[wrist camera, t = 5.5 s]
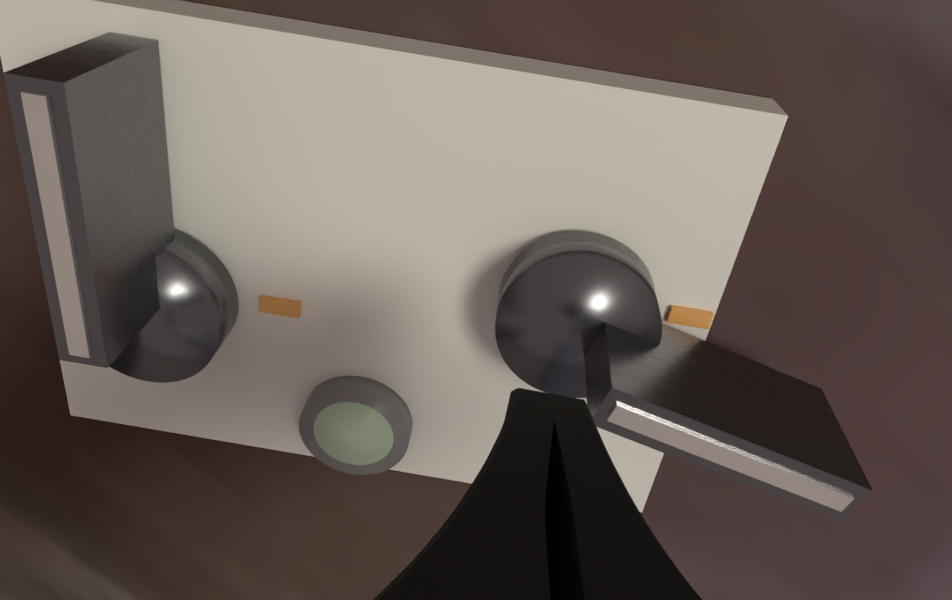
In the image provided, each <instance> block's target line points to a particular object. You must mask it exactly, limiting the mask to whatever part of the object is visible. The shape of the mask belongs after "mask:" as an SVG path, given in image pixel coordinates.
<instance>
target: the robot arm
mask: <svg viewBox="0 0 952 600" xmlns="http://www.w3.org/2000/svg"><path fill="white" fill-rule="evenodd" d="M373 600H702V599H701V598H700V597H699V595H698V594H697V593H696V592H695V591H694V590H693V588H692V587H691V586H690V584H689V583H688V582H687V581H686V579H685V578H684V577H683V575H682V574H681V573H680V572H679V570H678V569H677V567H676V566H675V565H674V563H673V562H672V560H671V559H670V558H669V556H668V555H667V553H666V552H665V551H664V549H663V548H662V546H661V545H660V543H659V542H658V540H657V539H656V537H655V536H654V534H653V533H652V531H651V530H650V528H649V526H648V525H647V523H646V521H645V520H644V518H643V516H642V515H641V513H640V512H639V510H638V508H637V507H636V505H635V503H634V501H633V500H632V498H631V496H630V494H629V492H628V491H627V489H626V487H625V485H624V483H623V481H622V479H621V477H620V475H619V473H618V472H617V470H616V468H615V466H614V464H613V462H612V460H611V458H610V456H609V454H608V451H607V449H606V447H605V445H604V443H603V441H602V438H601V436H600V434H599V432H598V429H597V427H596V425H595V422H594V420H593V417H592V415H591V412H590V410H589V407H588V405H587V404H586V402H585V401H584V400H583V399H578V398H572V397H567V396H561V395H556V394H550V393H545V392H539V391H534V390H528V389H523V388H517V389H515V390H513V391H511V393H510V398H509V402H508V406H507V411H506V415H505V419H504V423H503V426H502V428H501V431H500V433H499V435H498V437H497V439H496V441H495V443H494V445H493V447H492V449H491V451H490V453H489V455H488V457H487V459H486V461H485V463H484V465H483V466H482V468H481V470H480V471H479V473H478V475H477V476H476V478H475V479H474V481H473V483H472V484H471V486H470V488H469V489H468V491H467V492H466V494H465V495H464V497H463V498H462V500H461V501H460V503H459V504H458V506H457V507H456V508H455V510H454V511H453V512H452V514H451V515H450V516H449V518H448V519H447V520H446V522H445V523H444V524H443V526H442V527H441V528H440V529H439V531H438V532H437V533H436V534H435V535H434V537H433V538H432V539H431V540H430V541H429V543H428V544H427V545H426V546H425V547H424V549H423V550H422V551H421V552H420V553H419V554H418V555H417V556H416V558H415V559H414V560H413V561H412V562H411V563H410V564H409V565H408V566H407V567H406V568H405V569H404V570H403V571H402V572H401V573H400V574H399V575H398V576H397V577H396V578H395V579H394V580H393V581H392V582H391V583H390V584H389V585H388V586H387V587H386V588H385V589H384V590H383V591H382V592H381V593H380V594H379V595H378V596H377V597H376V598H374V599H373Z"/></svg>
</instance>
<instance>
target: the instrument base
mask: <svg viewBox="0 0 952 600" xmlns="http://www.w3.org/2000/svg"><path fill="white" fill-rule="evenodd" d="M108 32H113V33H119V34H125V35H131V36H137V37H143V38H149V39H155V40H158V42H159V54H160V66H161V78H162V90H163V102H164V114H165V126H166V138H167V150H168V162H169V173H170V185H171V197H172V209H173V221H174V229H175V230H178V231H181V232H183V233H185V234H187V235H189V236H191V237H193V238H195V239H196V240H198V241H199V242H201V243H202V244H204V245H205V246H206V247H208V248H209V249H210V250H211V251H212V252H213V253H214V254H215V255H216V256H217V257H218V258H219V259H220V260H221V262H222V263H223V264H224V266H225V267H226V268H227V270H228V272H229V273H230V275H231V277H232V279H233V282H234V284H235V287H236V290H237V294H238V302H239V308H238V316H237V320H236V322H235V325H234V327H233V328H232V330H231V332H230V333H229V335H228V336H227V338H226V339H225V340H224V342H223V343H222V345H221V346H220V348H219V349H218V351H217V352H216V354H215V355H214V356H213V358H212V359H211V361H210V362H209V363H208V365H207V366H206V367H205V368H204V369H203V370H201V371H200V372H199V373H197V374H196V375H194V376H192V377H190V378H187V379H185V380H181V381H176V382H168V383H157V382H149V381H144V380H139V379H136V378H133V377H130V376H127V375H125V374H122V373H120V372H118V371H116V370H114V369H112V368H111V367H108V368H104V367H98V366H92V365H86V364H80V363H74V362H68V361H62V360H60V364H61V369H62V374H63V380H64V385H65V390H66V395H67V400H68V405H69V410H70V415H72V416H78V417H84V418H90V419H96V420H102V421H107V422H113V423H119V424H125V425H131V426H137V427H143V428H149V429H155V430H160V431H166V432H172V433H178V434H184V435H190V436H196V437H202V438H207V439H213V440H219V441H225V442H231V443H237V444H243V445H249V446H255V447H260V448H266V449H272V450H278V451H284V452H290V453H296V454H302V455H308V456H313V457H316V458H317V459H318V460H319V461H321V462H322V463H324V464H325V465H327V466H329V467H331V468H333V469H335V470H338V471H341V472H344V473H349V474H355V475H371V474H377V473H380V472H384V471H386V470H388V469H390V470H396V471H402V472H408V473H414V474H419V475H425V476H431V477H437V478H443V479H449V480H455V481H461V482H466V483H473V481H474V479H475V478H476V476H477V475H478V473H479V471H480V470H481V468H482V466H483V465H484V463H485V461H486V459H487V457H488V455H489V453H490V451H491V449H492V447H493V445H494V443H495V441H496V439H497V437H498V435H499V433H500V431H501V428H502V426H503V423H504V419H505V415H506V411H507V406H508V402H509V398H510V393H511V391H513V390H515V389H517V388H523V389H528V390H534V391H539V392H542V391H540V390H538V389H536V388H534V387H532V386H530V385H529V384H527V383H525V382H524V381H523V380H521V379H520V378H519V377H517V376H516V375H515V374H514V373H513V372H512V371H511V370H510V368H509V367H508V366H507V364H506V363H505V361H504V360H503V358H502V356H501V354H500V352H499V349H498V346H497V342H496V338H495V321H496V313H497V305H498V297H499V290H500V286H501V282H502V279H503V276H504V274H505V272H506V270H507V269H508V267H509V265H510V264H511V263H512V261H513V260H514V259H515V258H516V257H517V256H518V255H519V254H520V253H521V252H522V251H523V250H524V249H526V248H527V247H528V246H530V245H531V244H533V243H535V242H537V241H539V240H540V239H543V238H546V237H548V236H551V235H555V234H559V233H564V232H575V231H583V232H593V233H597V234H602V235H605V236H608V237H611V238H613V239H615V240H617V241H619V242H621V243H623V244H624V245H626V246H627V247H629V248H630V249H631V250H633V251H634V252H635V253H636V254H637V255H638V256H639V257H640V258H641V260H642V261H643V262H644V264H645V265H646V267H647V268H648V270H649V272H650V275H651V277H652V280H653V284H654V288H655V292H656V296H657V301H658V305H659V309H660V313H661V318H662V323H663V324H665V325H667V326H670V327H672V328H675V329H677V330H680V331H682V332H684V333H687V334H689V335H692V336H694V337H697V338H699V339H701V340H704V341H705V340H706V338H707V335H708V332H709V329H710V327H711V324H712V321H713V319H714V316H715V313H716V310H717V308H718V305H719V302H720V300H721V297H722V294H723V291H724V289H725V286H726V283H727V281H728V278H729V275H730V273H731V270H732V267H733V264H734V262H735V259H736V256H737V254H738V251H739V248H740V245H741V243H742V240H743V237H744V235H745V232H746V229H747V226H748V224H749V221H750V218H751V216H752V213H753V210H754V207H755V205H756V202H757V199H758V197H759V194H760V191H761V189H762V186H763V183H764V180H765V178H766V175H767V172H768V170H769V167H770V164H771V161H772V159H773V156H774V153H775V151H776V148H777V145H778V142H779V140H780V137H781V134H782V132H783V129H784V126H785V123H786V121H787V118H788V115H787V114H786V113H785V112H784V111H783V110H782V109H781V107H780V106H779V105H778V104H777V103H776V102H775V101H774V100H773V99H770V98H764V97H758V96H752V95H746V94H740V93H734V92H728V91H722V90H716V89H710V88H704V87H698V86H692V85H686V84H680V83H674V82H668V81H662V80H656V79H650V78H644V77H638V76H631V75H625V74H619V73H613V72H607V71H601V70H595V69H589V68H583V67H577V66H571V65H565V64H559V63H553V62H547V61H541V60H535V59H529V58H523V57H517V56H511V55H505V54H499V53H493V52H487V51H481V50H475V49H469V48H463V47H457V46H451V45H445V44H439V43H433V42H427V41H421V40H415V39H409V38H403V37H396V36H390V35H384V34H378V33H372V32H366V31H360V30H354V29H348V28H342V27H336V26H330V25H324V24H318V23H312V22H306V21H300V20H294V19H288V18H282V17H276V16H270V15H264V14H258V13H252V12H246V11H240V10H234V9H228V8H222V7H216V6H210V5H204V4H198V3H192V2H186V1H180V0H0V56H1V61H2V66H3V71H4V72H7V71H9V70H12V69H14V68H17V67H20V66H22V65H25V64H27V63H30V62H33V61H35V60H38V59H40V58H43V57H46V56H48V55H51V54H53V53H56V52H59V51H61V50H64V49H66V48H69V47H72V46H74V45H77V44H79V43H82V42H84V41H87V40H90V39H92V38H95V37H97V36H100V35H103V34H105V33H108ZM578 399H583V400H584V401H585V402H586V404H587V398H578ZM597 429H598V432H599V434H600V436H601V438H602V441H603V443H604V445H605V447H606V449H607V451H608V454H609V456H610V458H611V460H612V462H613V464H614V466H615V468H616V470H617V472H618V473H619V475H620V477H621V479H622V481H623V483H624V485H625V487H626V489H627V491H628V492H629V494H630V496H631V498H632V500H633V501H634V503H635V505H636V507H637V508H638V510H639V512H642V511H643V508H644V506H645V503H646V500H647V497H648V495H649V492H650V489H651V487H652V484H653V481H654V478H655V476H656V473H657V470H658V468H659V465H660V462H661V459H662V457H663V454H664V453H663V452H660V451H658V450H655V449H652V448H650V447H647V446H645V445H642V444H639V443H637V442H634V441H632V440H629V439H626V438H624V437H621V436H619V435H616V434H614V433H611V432H608V431H606V430H603V429H601V428H598V427H597Z"/></svg>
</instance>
